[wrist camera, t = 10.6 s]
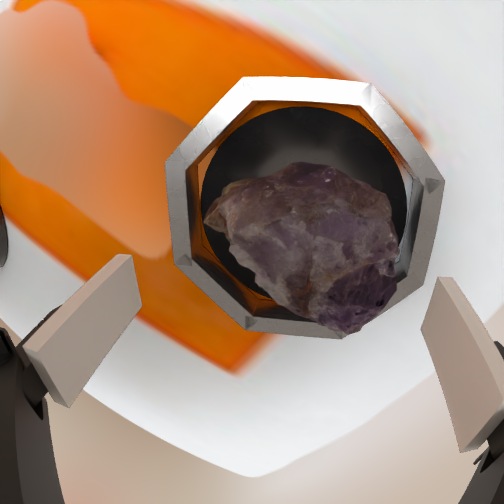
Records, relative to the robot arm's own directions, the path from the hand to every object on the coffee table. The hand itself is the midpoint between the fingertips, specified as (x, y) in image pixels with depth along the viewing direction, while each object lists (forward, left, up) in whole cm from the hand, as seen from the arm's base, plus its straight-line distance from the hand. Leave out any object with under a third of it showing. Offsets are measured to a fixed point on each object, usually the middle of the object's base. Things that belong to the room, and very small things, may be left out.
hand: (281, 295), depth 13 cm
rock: (+1, 0, -11) cm, 11 cm away
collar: (0, 0, -12) cm, 11 cm away
